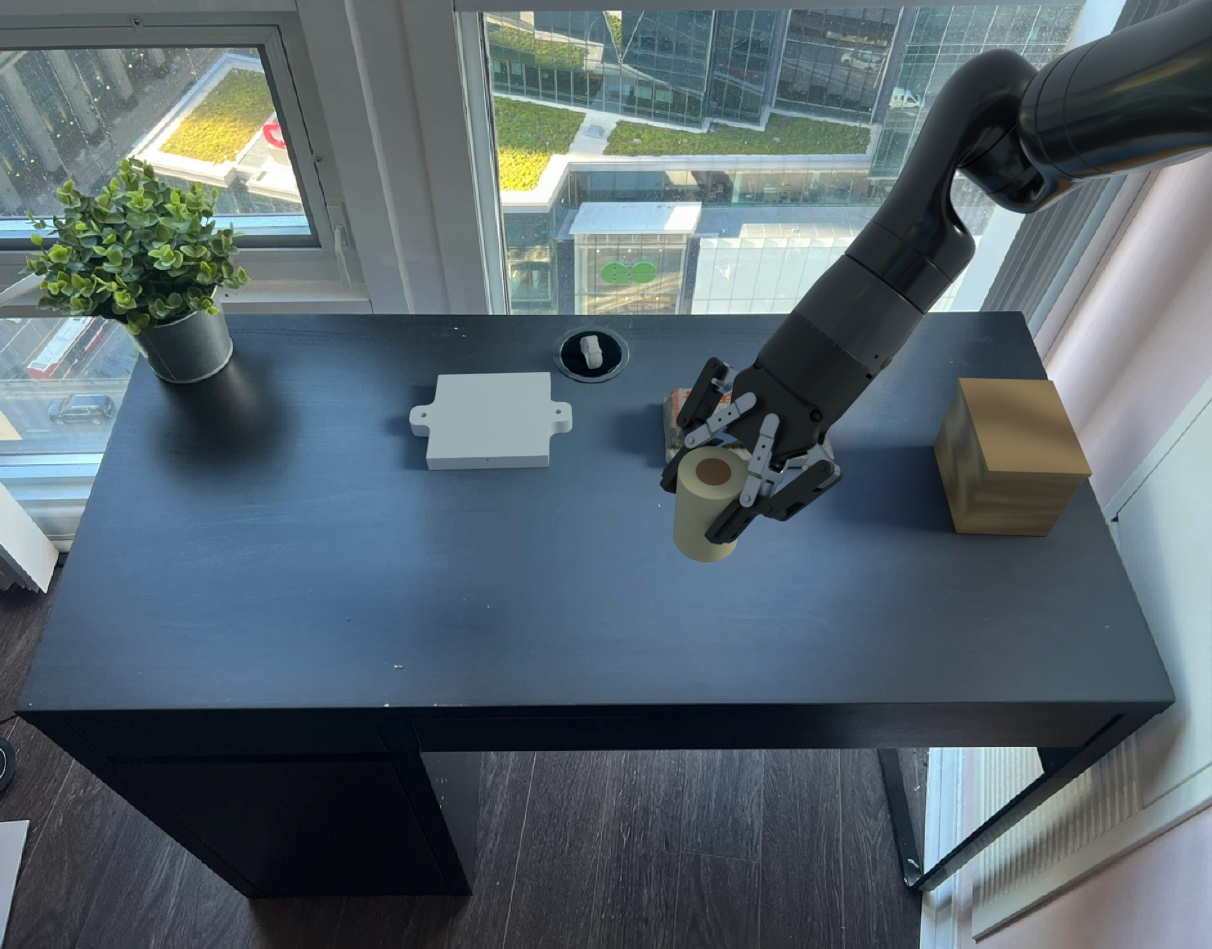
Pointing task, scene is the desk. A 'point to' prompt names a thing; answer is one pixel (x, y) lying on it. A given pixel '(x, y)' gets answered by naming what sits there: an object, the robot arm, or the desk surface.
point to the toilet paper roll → (705, 499)
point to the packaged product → (678, 398)
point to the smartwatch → (591, 351)
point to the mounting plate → (491, 421)
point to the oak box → (1008, 457)
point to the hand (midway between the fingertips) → (690, 514)
